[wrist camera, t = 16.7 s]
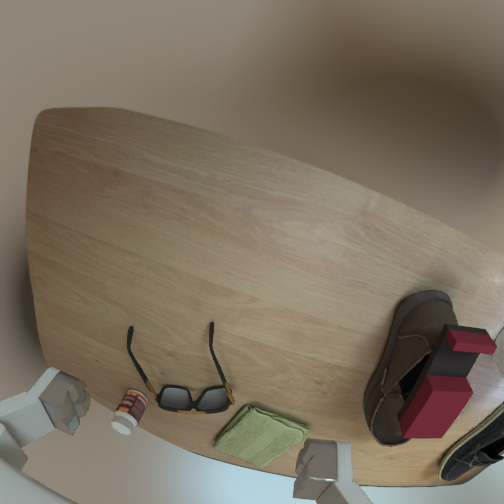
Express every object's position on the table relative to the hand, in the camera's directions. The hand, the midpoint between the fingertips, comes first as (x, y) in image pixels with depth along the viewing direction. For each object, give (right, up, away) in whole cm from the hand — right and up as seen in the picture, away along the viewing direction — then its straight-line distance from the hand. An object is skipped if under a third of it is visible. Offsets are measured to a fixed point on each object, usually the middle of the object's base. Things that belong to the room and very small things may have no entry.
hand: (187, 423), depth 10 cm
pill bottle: (-20, -22, +46) cm, 55 cm away
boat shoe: (+53, -34, +40) cm, 75 cm away
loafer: (+25, -12, +34) cm, 44 cm away
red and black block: (+24, -9, +21) cm, 33 cm away
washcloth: (+3, -28, +45) cm, 53 cm away
